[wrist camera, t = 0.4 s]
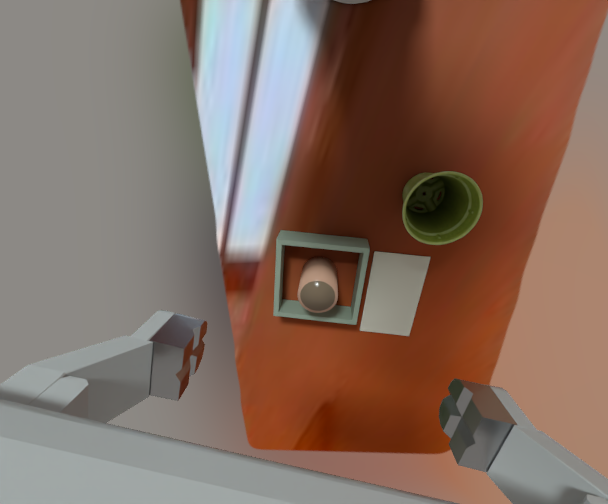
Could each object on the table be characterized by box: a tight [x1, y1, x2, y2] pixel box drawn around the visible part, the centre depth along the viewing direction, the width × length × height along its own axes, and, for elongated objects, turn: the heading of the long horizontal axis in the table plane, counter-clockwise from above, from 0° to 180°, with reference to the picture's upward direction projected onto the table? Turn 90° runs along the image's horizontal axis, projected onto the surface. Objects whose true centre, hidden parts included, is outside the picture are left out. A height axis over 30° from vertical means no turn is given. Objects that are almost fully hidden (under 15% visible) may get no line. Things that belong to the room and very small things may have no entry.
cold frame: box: [274, 230, 370, 325], centre depth 50 cm, size 14×14×4 cm
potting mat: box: [360, 251, 431, 336], centre depth 53 cm, size 16×9×1 cm, turn 176°
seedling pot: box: [298, 257, 338, 313], centre depth 49 cm, size 6×6×8 cm
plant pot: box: [402, 171, 483, 245], centre depth 41 cm, size 9×9×9 cm
